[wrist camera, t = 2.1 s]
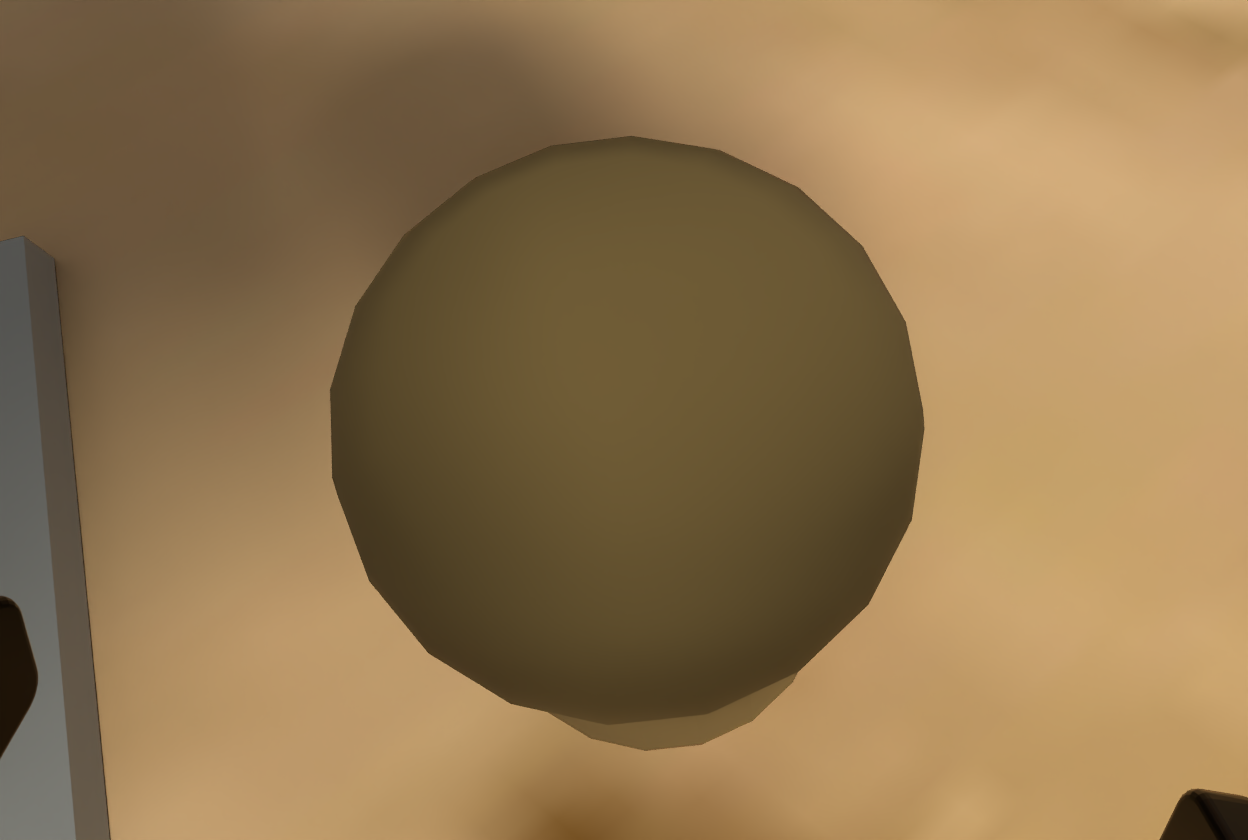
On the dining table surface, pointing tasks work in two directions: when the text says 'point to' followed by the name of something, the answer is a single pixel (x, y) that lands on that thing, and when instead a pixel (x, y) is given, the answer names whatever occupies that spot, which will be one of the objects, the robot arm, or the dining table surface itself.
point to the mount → (44, 567)
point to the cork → (627, 436)
